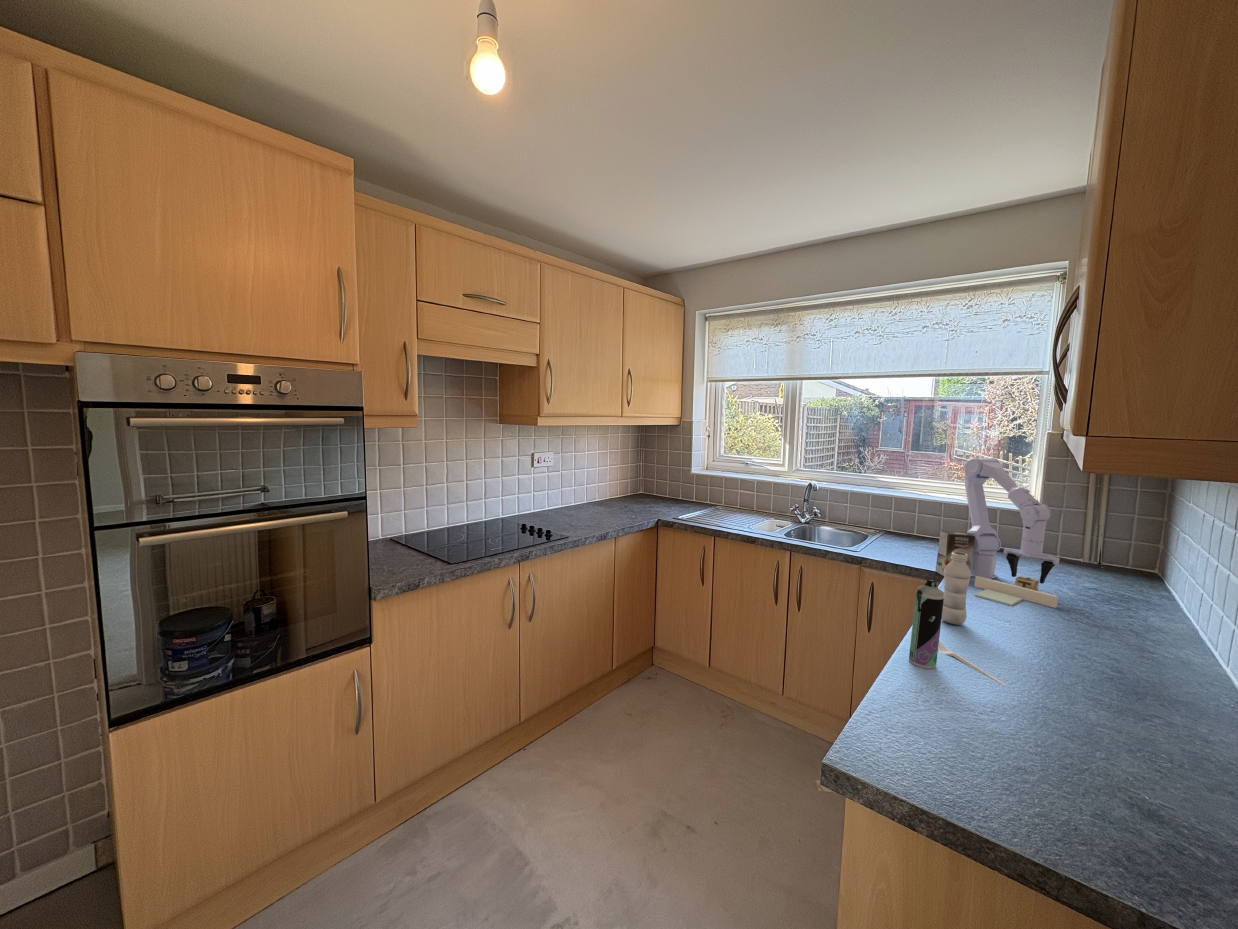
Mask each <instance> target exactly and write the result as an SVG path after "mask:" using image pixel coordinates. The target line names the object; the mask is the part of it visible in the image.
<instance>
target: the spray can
mask: <svg viewBox="0 0 1238 929" xmlns="http://www.w3.org/2000/svg"><path fill="white" fill-rule="evenodd" d="M936 583H937V582H936V580H935V579H927V580H926V582H925V583H923V585H921V586H917V588H916V590H915V600H914V607H913V616H912V617H913V619H912V624H911V625H912V626H911V638H910V646H909V653H908V654H909V655H908V662H909V663H910V664H912V665H914V666H915V667H917V668H921V669H924V670H935V669H936V667H937V662H938V653H939V651H938V646H939V644H940V643H939V641H940V636H941V634H940V633H941V627H942V626H941V625H942V610H943V601H944V590H941V589H940V588H939V586H938V585H937V584H936Z"/></svg>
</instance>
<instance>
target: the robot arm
mask: <svg viewBox="0 0 1238 929" xmlns="http://www.w3.org/2000/svg"><path fill="white" fill-rule="evenodd" d="M963 470H964V482H963V483H964V486H965V494H966V499H967V505H968V511H969V517H970V522H971V528H970V529H969V530H968V531H966V532H967V533H970V534H972V535H974V536H975V541H974V548H973V555H972V563H971V570H970V571H971V578H972V577H973V578H976V576H979V577H983V578H987V579H991V580H994V579H995V578H997V577H998V575H997V574H995V573H996V565H997V557H996V556H995V555H996V554H997V551H999V550H1000V549H1001V548H1002V542H1001V540H1000V537H999V536H998V533H997V531H996V530H995V529H994V528H993V527H992V526H991V522H990V519H989V517H990V516H989V512H988V508H987V507H988V506H987V502H986V495H985V491H984V490H985V489H984V484H985V483H986V481H988V480H990V479H991V478H992V479H994V481H995V482H996V483H997V484H999V486H1001V487H1002V489H1004V490H1005V491H1006V492H1007V493H1008V494H1007V497H1008V499H1009V500H1010V501H1011V502H1012V503H1013V504H1014V506H1015V507H1016V508H1017V509H1018V510H1019V511H1020V512H1019V515H1020V518H1021V520H1022V525H1023V528H1022V534H1021V541H1020V542H1021V543H1020V549H1017V548H1010V547H1004V548H1003V554H1004V555H1006V556H1005V558H1006V560H1007V562H1008V565H1009V569H1010V572H1011V573H1010V574H1011V577H1012V578H1015V577H1017V574H1018V566H1019V565H1018V564H1019V560H1020V558H1025V559H1031V560H1034V561H1035V560H1036V561H1040V562H1041V563H1040V565H1041V568H1040V569H1041V570H1040V577H1039V584H1045V581H1046V579H1047V576H1048V574H1049V573H1050V572H1051V570H1052V569H1053V568H1054V567H1055V566H1056V565H1059V564H1060V557H1057V556H1052V555H1047V554H1044V553H1043V551H1044V550H1043V549H1044V541H1045V537H1046V536H1045V534H1046V527H1047V522H1048V521H1050V520H1051V519H1052V515H1053V512H1052V508H1050V507H1049V505H1047V504H1044V503H1043V504H1042V503H1041V502H1040V501H1039V500H1038V499H1036V498H1035V497H1034V496H1033V494H1031V493H1030V490H1029V489H1028V488H1025V487H1024V486H1023V487H1022V486H1018V485H1017V483H1016V482H1015V481H1014V480H1013V478H1011V476H1010V475H1009V474H1008V473H1007V471H1006V470H1005V469H1004V464H1003V463H1001V462H1000V460H998V458H994V457H989V458H986V457H970V458H969V459H967V461H966V462H965V463H964V464H963Z"/></svg>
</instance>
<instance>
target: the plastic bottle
mask: <svg viewBox="0 0 1238 929" xmlns="http://www.w3.org/2000/svg"><path fill="white" fill-rule="evenodd" d="M951 559H952V561H951V562H950V563H949V564H948V565H947V566H946V567H945V569H944V576H943V577H944V578H943V579H944V587H943V588H944V590H943V592H944V601H943V610H942V619H941V621H943V622H945V623H947V624H950V625H959V626H960V625H963V624H964V623H966V621H967V620H966V619H967V593H968V589H969V588H968V587H969V585H970V581H971V578H972V576H971V571H970V569H969V567H968V566H967V564H966V562H967V554H965V553H961V552H952V557H951Z"/></svg>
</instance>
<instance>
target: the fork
mask: <svg viewBox="0 0 1238 929" xmlns="http://www.w3.org/2000/svg"><path fill="white" fill-rule="evenodd" d="M938 652H940V653H941V654H943V655H945V656H950V657H954V658H955V659H957V660H958V661H960V662H962V663H964V664H965V665H967V666H968V667H970V668H972V669H974V670H975V671H976V672H979V673H981V674H983V675H984V676H986V677H988V678H990V679H992V680H993V681H994V682H997V683H999V684H1000V685H1002V686H1004V687H1008V685H1007V684H1006V683H1004V682H1003V681H1001V680H999V679H998V678H996V677H995V676H993V675H991V674H989V673H988V672H987V671H985V670H983V669H982V668H980V667H978V666H977V665H975V664H974V663H972V662H971V661H970V660H967V659H965V657H963V656H961V655H959V654H958V653H956V652H953V651H952V650H950V649H949V648H948V647H946V646H945V645H944V644H943V643H942V642H941V641H940V640H939V645H938Z"/></svg>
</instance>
